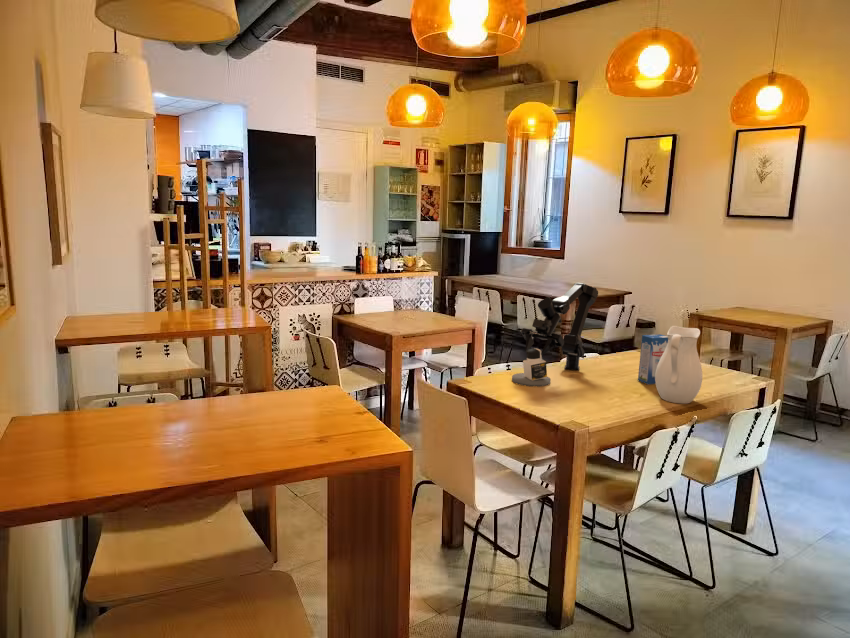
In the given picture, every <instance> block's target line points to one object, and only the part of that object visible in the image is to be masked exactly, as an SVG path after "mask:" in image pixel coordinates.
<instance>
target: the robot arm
mask: <svg viewBox="0 0 850 638" xmlns="http://www.w3.org/2000/svg"><path fill="white" fill-rule="evenodd" d="M598 296H599V291H598V289H597V288H596V287H595V286H594V287H592V286H590V285H588V284H587V283H583V282H575V283H573V286H571V288H569V289H568V291H566V292H565V293H564V294H563V295H562V296H558V297H556V298H554V299H552V298H551V297H549V296H546V297H545V298H544V299H542V300H540V301H539V302H538V303H537V306H538V309H539V312H540V313H541V315H542V316H543V317H544V319H543V320H542V319H537V318H534V319H533V322H532V328H535V329H534V330H535V332H534V330H533V329H532V328H527V327H523V328H522V329H521V331H520V333H521V335H522V337H523V339H524V340H525V341H526V342H525V349H524V352H526V351H527V350H529V349H532V348H531V347H532V346H533V345H534V344H535V341H534V340H535V339H540V340H543V341H545V340H546V343H545V344H544V346H543V348H542V350H541V356H544V355H546V354H547V353H548V352H550V351H551V350H553V349H554V350H555V348H561V353H562V355H565V356H566V360H565V365H564V370H569V371H580V366H579V365H580V358H583V357H584V355H585V350H584V348H583V340H582V337H581V336H582V332H583V330H584V327H585V322H586V320H587V317H588V314H589V310H590V308H591V306H592V305H594V304H595V302H596V301H597V298H598ZM576 299H577V300H578V305H577V310H576V313H575V316H574V320H573V321H572V325H571V328H570V331H569V333H568V334H564V336H562V334H561V333H556V327H557V326H558V323H559V324H560V323H562V317H561V315H566V314H567V313H568V311H569V310H570V309H571V304H572V303H574V301H576Z"/></svg>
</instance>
